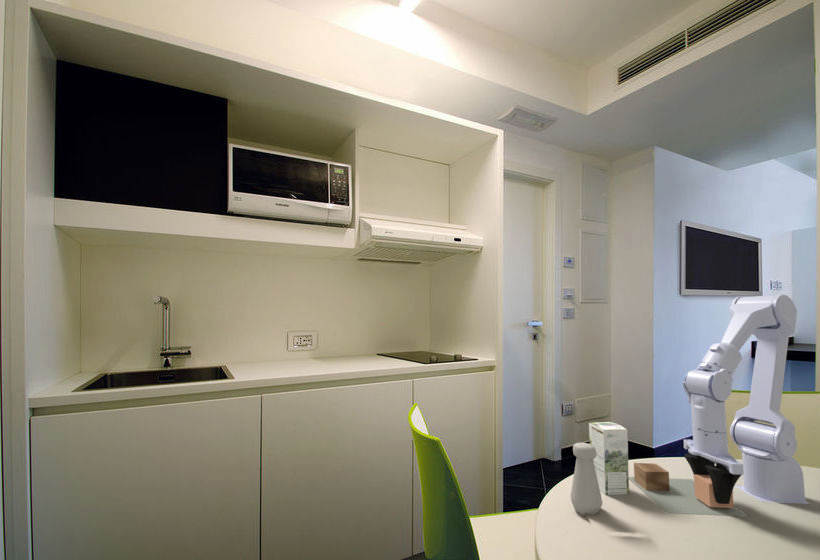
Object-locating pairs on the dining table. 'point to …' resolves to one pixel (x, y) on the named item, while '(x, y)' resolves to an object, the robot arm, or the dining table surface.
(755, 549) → the dining table surface
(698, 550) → the dining table surface
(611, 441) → the syrup box
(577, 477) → the salt shaker
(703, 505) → the slate board
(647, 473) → the walnut block
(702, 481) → the terracotta cube
